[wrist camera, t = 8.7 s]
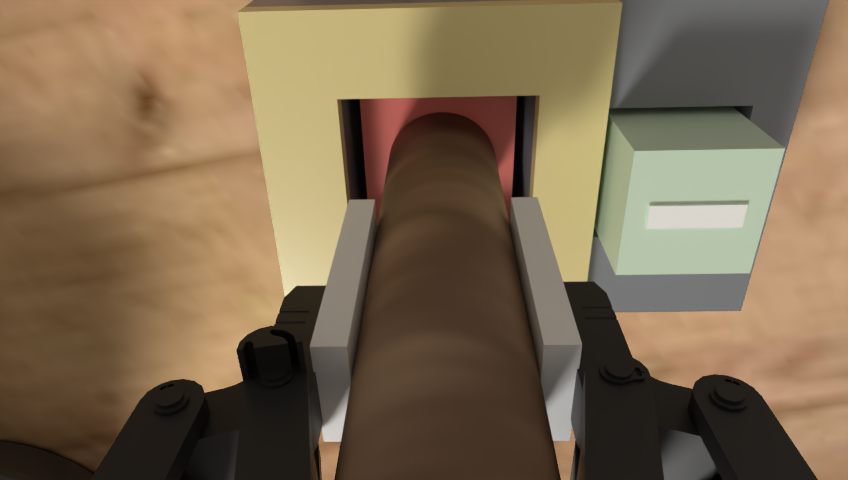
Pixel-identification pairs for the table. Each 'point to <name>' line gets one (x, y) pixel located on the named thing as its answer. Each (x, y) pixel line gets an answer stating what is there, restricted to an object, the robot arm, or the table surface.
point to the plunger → (395, 113)
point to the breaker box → (535, 112)
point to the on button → (684, 190)
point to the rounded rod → (445, 325)
